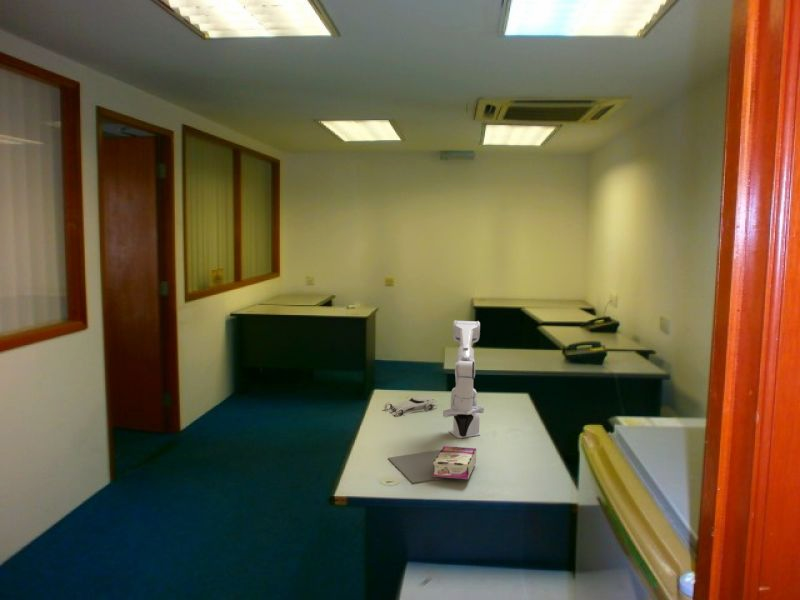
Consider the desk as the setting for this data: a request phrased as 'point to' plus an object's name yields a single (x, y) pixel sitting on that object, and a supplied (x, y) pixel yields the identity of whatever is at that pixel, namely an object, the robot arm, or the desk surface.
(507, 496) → the desk surface
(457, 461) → the candy bar box
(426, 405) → the car model
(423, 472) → the mat
